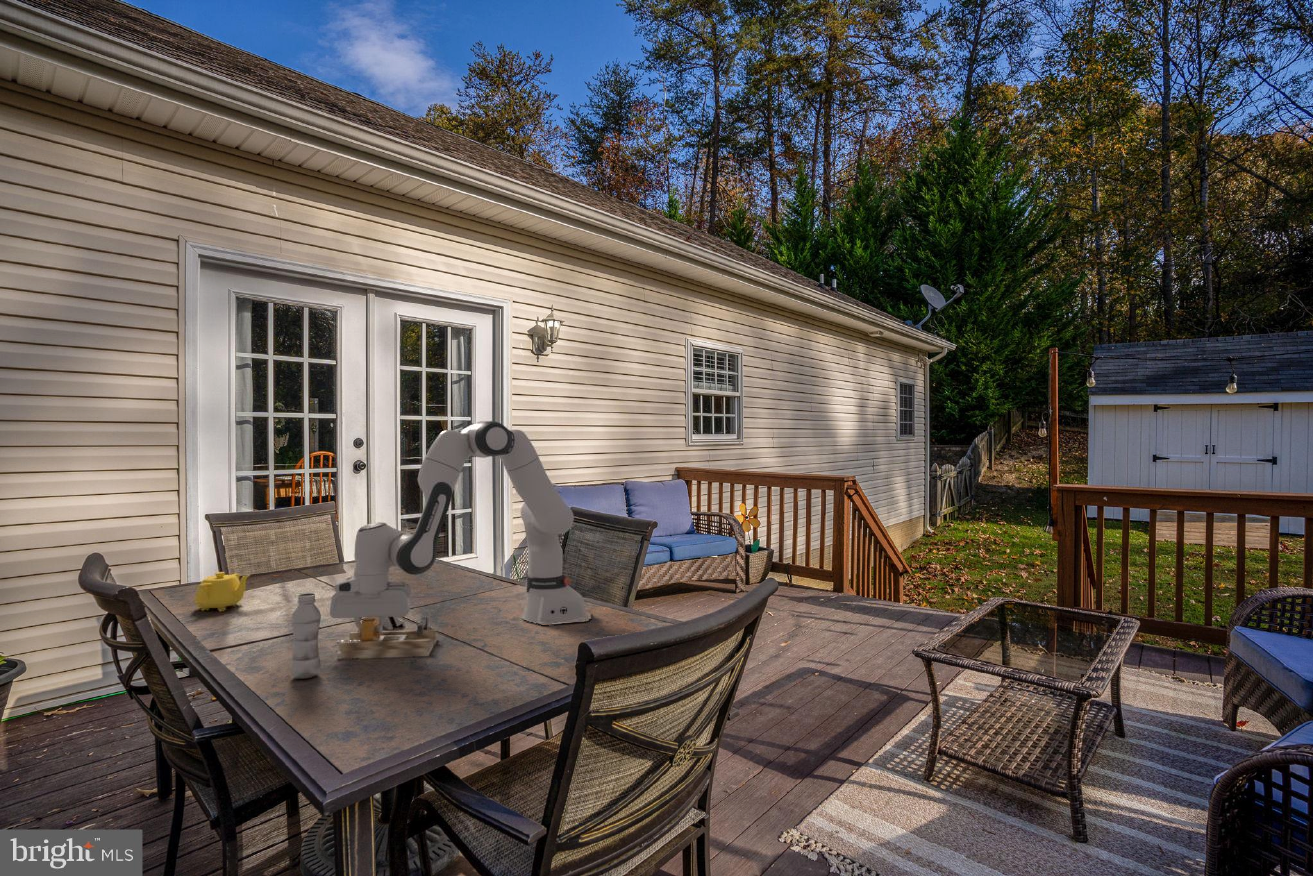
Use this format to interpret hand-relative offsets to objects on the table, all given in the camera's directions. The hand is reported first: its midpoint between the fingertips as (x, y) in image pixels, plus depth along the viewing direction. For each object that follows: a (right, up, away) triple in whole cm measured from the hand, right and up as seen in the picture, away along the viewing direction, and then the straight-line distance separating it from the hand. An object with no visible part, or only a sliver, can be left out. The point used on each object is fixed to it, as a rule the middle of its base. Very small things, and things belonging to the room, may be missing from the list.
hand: (370, 632), depth 176 cm
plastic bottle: (-7, -5, -20) cm, 22 cm away
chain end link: (0, -3, 0) cm, 3 cm away
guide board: (+5, -5, +1) cm, 7 cm away
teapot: (-65, -3, +38) cm, 75 cm away
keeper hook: (+12, -3, +6) cm, 14 cm away
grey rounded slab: (-7, -5, +25) cm, 26 cm away
